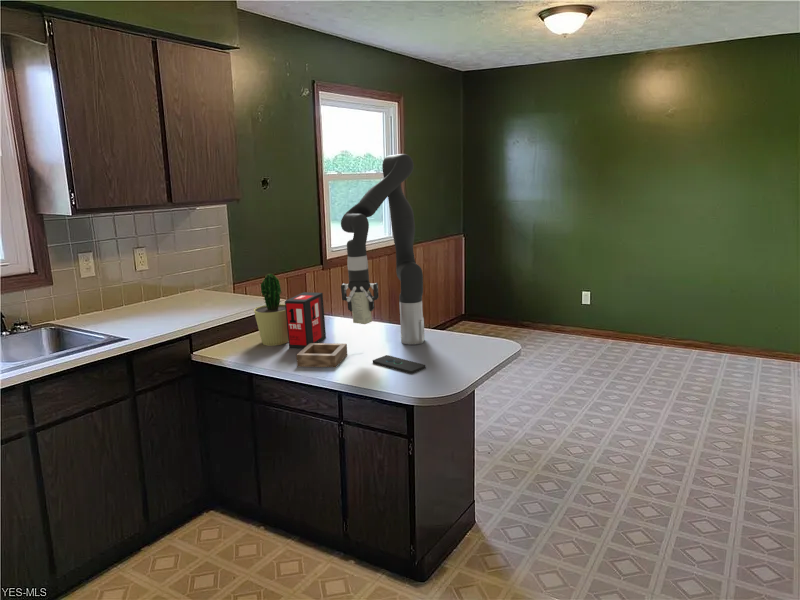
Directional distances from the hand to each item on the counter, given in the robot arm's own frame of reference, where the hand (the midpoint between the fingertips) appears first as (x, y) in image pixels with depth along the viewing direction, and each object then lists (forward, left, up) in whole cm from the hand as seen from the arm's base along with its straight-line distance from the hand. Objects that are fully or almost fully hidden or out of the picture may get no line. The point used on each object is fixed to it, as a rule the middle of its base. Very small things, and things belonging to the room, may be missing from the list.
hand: (361, 310), depth 227 cm
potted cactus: (+44, -19, -19) cm, 52 cm away
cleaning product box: (+29, -18, -19) cm, 39 cm away
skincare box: (0, 0, -5) cm, 5 cm away
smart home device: (-15, +8, -19) cm, 26 cm away
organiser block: (+15, +4, -19) cm, 24 cm away
